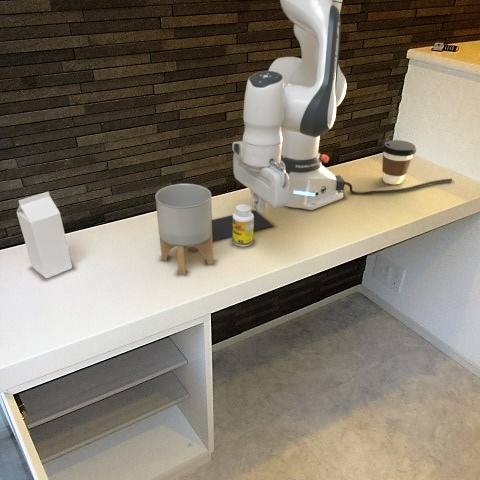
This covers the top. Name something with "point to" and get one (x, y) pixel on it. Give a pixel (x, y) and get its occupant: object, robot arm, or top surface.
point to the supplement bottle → (243, 226)
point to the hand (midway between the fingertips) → (258, 209)
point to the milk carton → (44, 235)
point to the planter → (185, 221)
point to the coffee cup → (396, 160)
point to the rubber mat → (225, 225)
